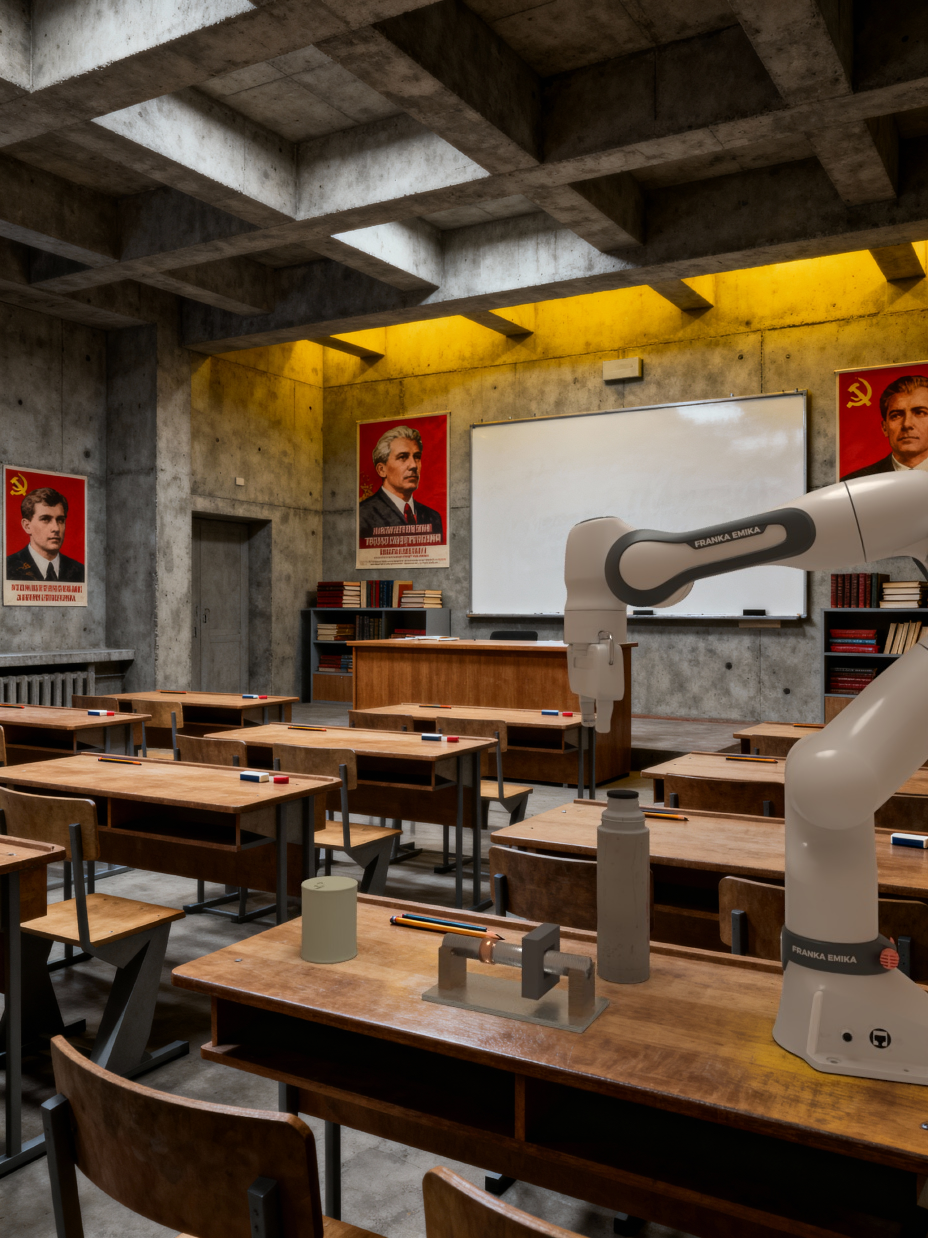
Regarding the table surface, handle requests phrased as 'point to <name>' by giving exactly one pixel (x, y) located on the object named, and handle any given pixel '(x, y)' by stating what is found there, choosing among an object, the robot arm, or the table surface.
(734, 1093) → the table surface
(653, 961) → the table surface
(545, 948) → the collar
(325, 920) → the can
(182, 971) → the table surface
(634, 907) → the thermos bottle
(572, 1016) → the rail
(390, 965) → the table surface
